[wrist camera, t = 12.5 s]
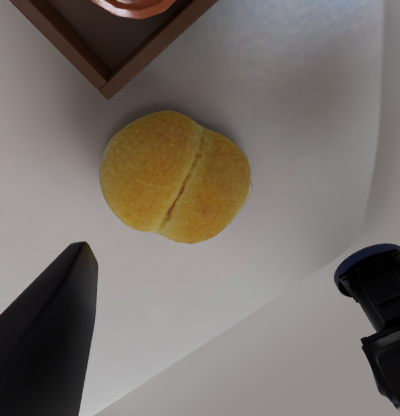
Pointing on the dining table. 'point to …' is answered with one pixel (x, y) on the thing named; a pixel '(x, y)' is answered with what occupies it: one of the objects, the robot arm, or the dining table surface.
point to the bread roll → (174, 177)
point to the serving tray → (109, 36)
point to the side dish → (134, 7)
